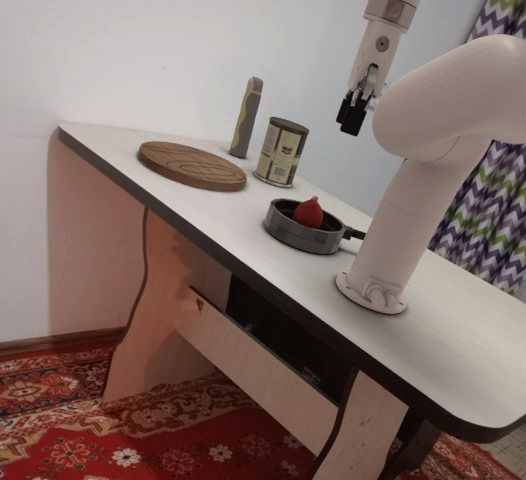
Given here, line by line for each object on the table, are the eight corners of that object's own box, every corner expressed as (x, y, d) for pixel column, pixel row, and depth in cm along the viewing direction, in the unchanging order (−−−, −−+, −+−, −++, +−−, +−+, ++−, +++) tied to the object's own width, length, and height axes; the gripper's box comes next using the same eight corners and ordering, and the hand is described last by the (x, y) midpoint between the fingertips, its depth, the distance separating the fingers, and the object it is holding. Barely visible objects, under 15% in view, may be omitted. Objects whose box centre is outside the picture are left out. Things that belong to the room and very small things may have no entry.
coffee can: (277, 174, 127) (293, 120, 120) (298, 189, 121) (317, 133, 113) (246, 170, 121) (262, 113, 113) (268, 185, 115) (286, 126, 107)
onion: (313, 244, 90) (328, 205, 85) (285, 234, 90) (299, 194, 85) (316, 235, 94) (330, 197, 90) (290, 225, 94) (303, 187, 90)
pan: (341, 263, 87) (350, 241, 84) (262, 238, 85) (269, 215, 82) (334, 234, 100) (342, 214, 97) (265, 212, 98) (271, 191, 95)
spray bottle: (240, 153, 134) (260, 77, 123) (248, 159, 131) (269, 82, 120) (226, 151, 131) (245, 73, 120) (233, 157, 128) (253, 77, 117)
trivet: (117, 145, 105) (118, 136, 104) (205, 153, 122) (206, 146, 121) (178, 190, 92) (180, 180, 91) (265, 193, 109) (268, 185, 108)
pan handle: (396, 255, 92) (401, 246, 91) (340, 237, 91) (344, 227, 90) (394, 251, 94) (398, 241, 93) (339, 233, 93) (343, 223, 92)
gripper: (422, 22, 66) (371, 145, 75) (400, 24, 80) (359, 128, 89) (374, 3, 65) (328, 130, 74) (360, 9, 79) (323, 114, 88)
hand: (345, 128), depth 82 cm, fingers open, 9 cm apart
